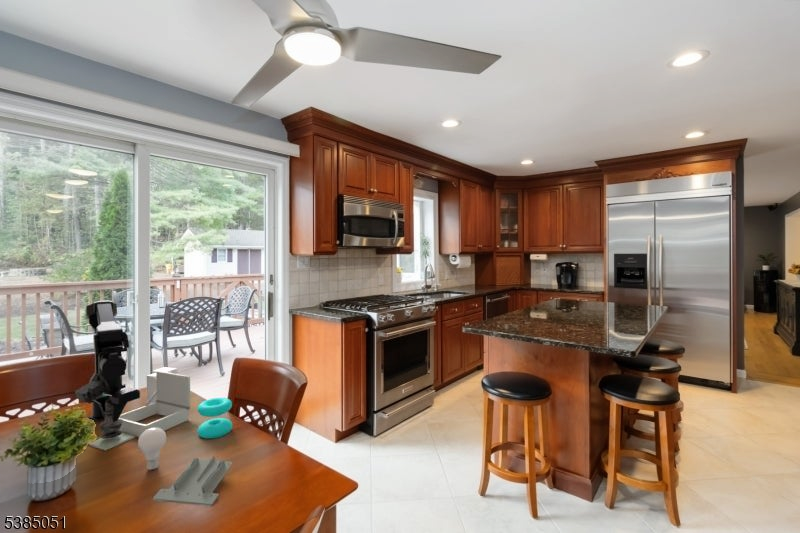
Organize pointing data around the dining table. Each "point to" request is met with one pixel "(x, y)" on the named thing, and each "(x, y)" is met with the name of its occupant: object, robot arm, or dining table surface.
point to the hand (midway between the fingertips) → (111, 420)
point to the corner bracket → (153, 382)
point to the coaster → (111, 441)
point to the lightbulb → (152, 445)
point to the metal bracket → (196, 483)
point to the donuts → (216, 425)
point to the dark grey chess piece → (110, 424)
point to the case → (161, 405)
